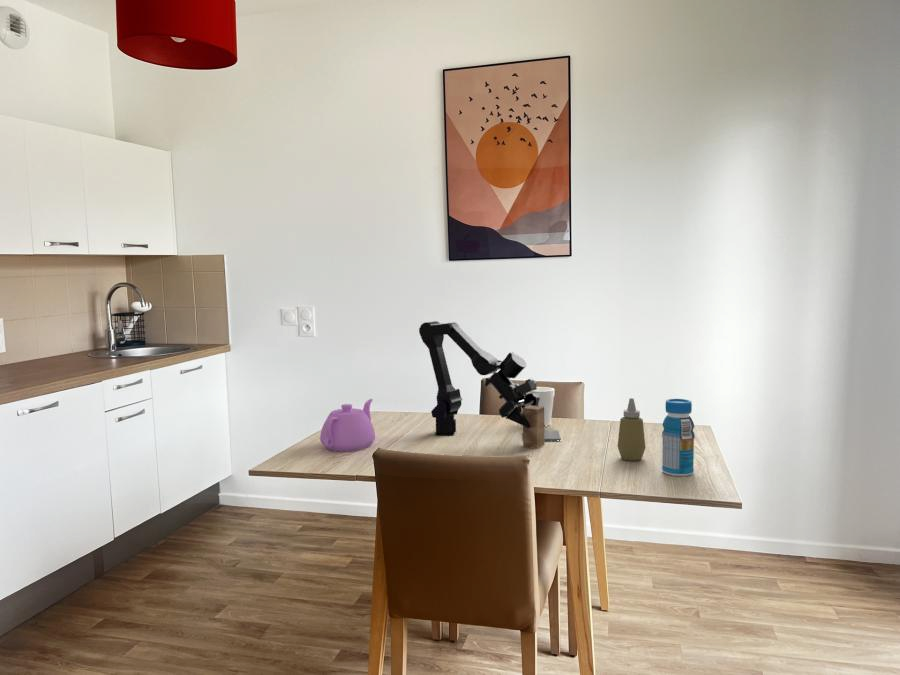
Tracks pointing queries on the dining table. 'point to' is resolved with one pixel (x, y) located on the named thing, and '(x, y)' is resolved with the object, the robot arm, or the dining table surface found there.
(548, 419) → the foam cup
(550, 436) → the slate coaster
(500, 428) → the dining table surface
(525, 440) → the walnut block
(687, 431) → the beverage bottle
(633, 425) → the squeeze bottle
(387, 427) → the dining table surface
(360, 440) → the teapot
